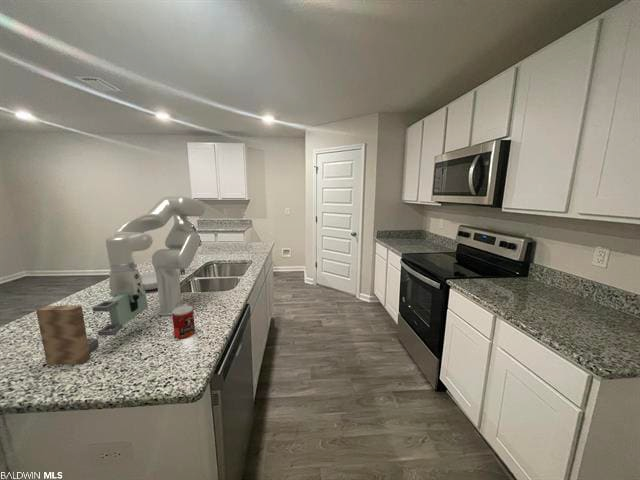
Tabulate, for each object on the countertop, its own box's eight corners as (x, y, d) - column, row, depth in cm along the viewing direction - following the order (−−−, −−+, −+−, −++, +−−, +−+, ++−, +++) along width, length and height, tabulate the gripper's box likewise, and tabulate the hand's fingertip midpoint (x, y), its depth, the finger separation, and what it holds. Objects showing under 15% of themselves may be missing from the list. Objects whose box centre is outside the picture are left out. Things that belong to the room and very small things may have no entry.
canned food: (181, 341, 99) (178, 315, 97) (170, 335, 103) (167, 310, 101) (199, 332, 105) (197, 308, 104) (188, 327, 110) (186, 303, 108)
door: (150, 307, 110) (146, 284, 108) (112, 335, 89) (106, 307, 87) (138, 307, 110) (134, 284, 107) (98, 335, 89) (92, 307, 87)
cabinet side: (106, 346, 95) (99, 297, 91) (82, 364, 85) (73, 309, 82) (74, 347, 95) (66, 297, 91) (47, 364, 85) (35, 309, 81)
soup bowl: (150, 280, 169) (149, 271, 168) (182, 282, 166) (182, 272, 165) (117, 293, 146) (116, 283, 145) (154, 296, 143) (153, 285, 142)
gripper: (150, 264, 101) (156, 305, 105) (109, 264, 101) (117, 305, 105) (137, 270, 94) (144, 314, 98) (93, 270, 94) (102, 314, 98)
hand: (130, 309), depth 101 cm, fingers closed on door, 3 cm apart
